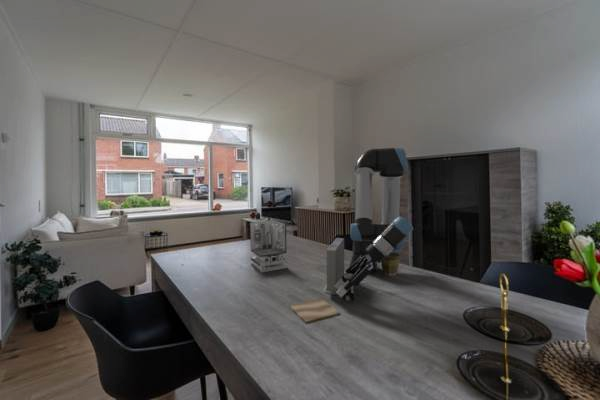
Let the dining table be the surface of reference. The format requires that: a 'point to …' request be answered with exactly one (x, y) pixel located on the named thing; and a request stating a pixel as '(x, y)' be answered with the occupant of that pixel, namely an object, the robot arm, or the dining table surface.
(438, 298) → the dining table surface
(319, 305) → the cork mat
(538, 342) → the dining table surface
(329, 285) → the network device
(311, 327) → the dining table surface
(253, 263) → the analytical balance
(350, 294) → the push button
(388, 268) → the ceramic cup
